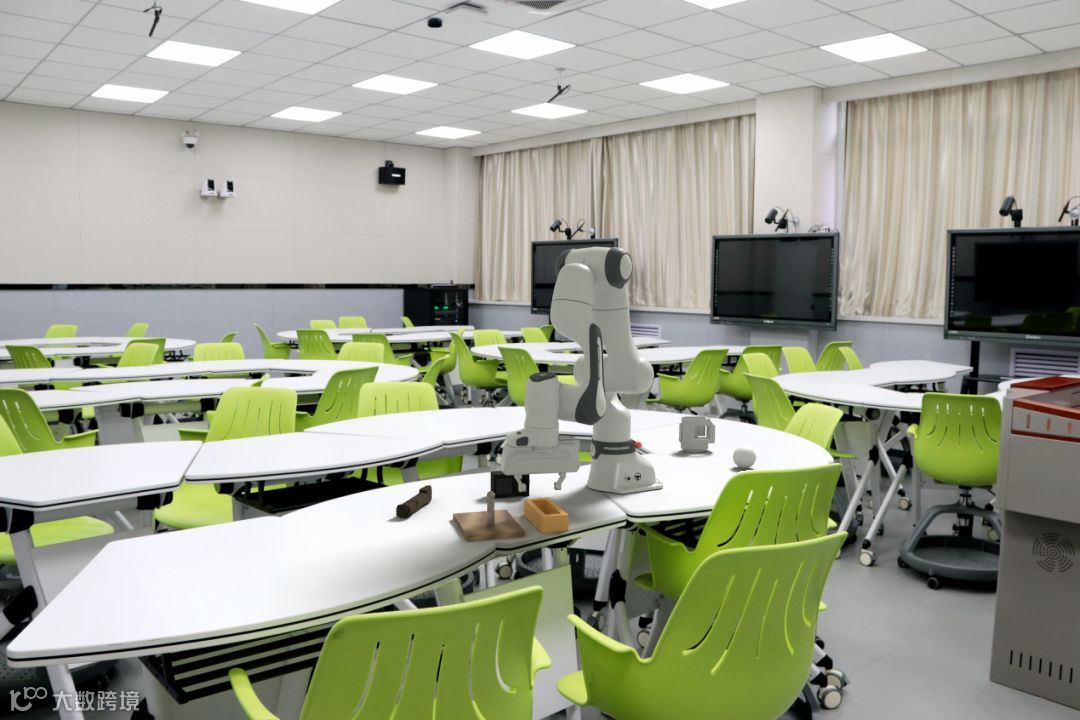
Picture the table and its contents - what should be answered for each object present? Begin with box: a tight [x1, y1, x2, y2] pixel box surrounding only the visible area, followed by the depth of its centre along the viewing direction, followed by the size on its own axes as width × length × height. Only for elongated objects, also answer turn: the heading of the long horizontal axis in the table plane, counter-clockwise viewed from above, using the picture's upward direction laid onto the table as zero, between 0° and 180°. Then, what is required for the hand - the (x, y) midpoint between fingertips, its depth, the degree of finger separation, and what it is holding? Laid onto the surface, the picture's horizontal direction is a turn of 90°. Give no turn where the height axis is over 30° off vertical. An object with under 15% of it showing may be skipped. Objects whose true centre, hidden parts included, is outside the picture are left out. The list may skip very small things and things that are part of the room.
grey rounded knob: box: [732, 445, 757, 469], centre depth 267 cm, size 10×7×7 cm
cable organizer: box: [678, 415, 716, 453], centre depth 291 cm, size 7×12×12 cm, turn 98°
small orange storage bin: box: [523, 497, 569, 534], centre depth 206 cm, size 7×16×4 cm, turn 17°
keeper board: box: [452, 490, 526, 543], centre depth 201 cm, size 14×18×10 cm
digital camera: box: [490, 470, 531, 499], centre depth 230 cm, size 10×5×7 cm, turn 108°
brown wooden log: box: [395, 484, 433, 519], centre depth 218 cm, size 19×4×5 cm, turn 163°
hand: (539, 490), depth 209 cm, fingers open, 8 cm apart
